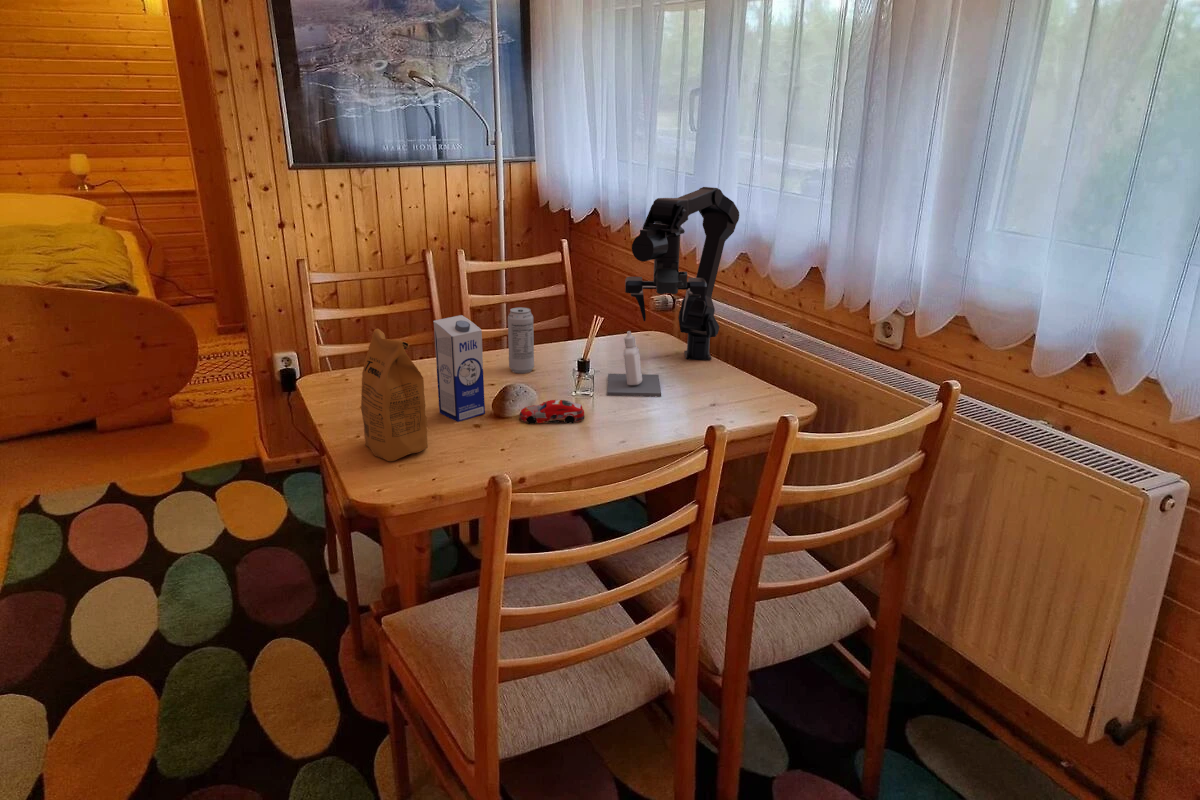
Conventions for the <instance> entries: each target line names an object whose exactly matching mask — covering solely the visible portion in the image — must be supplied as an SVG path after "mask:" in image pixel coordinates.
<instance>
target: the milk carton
mask: <svg viewBox="0 0 1200 800" xmlns="http://www.w3.org/2000/svg"><path fill="white" fill-rule="evenodd" d="M433 329H434V330H433V333H434V334H433V335H434V348H435V361H436V362H435V363H436V365H435V366H436V378H437V379H436V380H437V395H438V411H439V414H441V415H442V416H445V417H446V418H448V417H449V418H448V419H450V420H453V421H455V422H457V423H459V422H463V421H466V420H470V419H472V418H475V417H479V416H482V415H486V411H485V410H486V405H485V404H486V403H485V384H484V381H485V380H484V359H483V355H484V354H483V335H482V331H483V330H482V329H481V328H480V327H479V326H477V324H475V323H474V322H473V321H471V320H470V319H469V318H467V317H465V316H464V315H462V314H459V315H455V316H451V317H446V318H441V319H440V318H439V319H435V320H433Z"/></svg>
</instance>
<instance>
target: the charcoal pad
mask: <svg viewBox="0 0 1200 800" xmlns="http://www.w3.org/2000/svg"><path fill="white" fill-rule="evenodd" d="M606 390H607V394H606V395H607V396H611V397H612V396H613V397H614V396H615V397H624V396H625V397H649V396H651V398H652V397H653V398H654V397H655V396H657V397H659V398H661V397H662V387H661V382H660V376H659V374H657V373H656V374H650V373H649V374H647V373H646V374H645V373H642V382H641V383H640V384H638V385H628V384H627V379H626V373H607V389H606ZM657 397H655V398H657Z"/></svg>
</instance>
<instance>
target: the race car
mask: <svg viewBox="0 0 1200 800" xmlns="http://www.w3.org/2000/svg"><path fill="white" fill-rule="evenodd" d="M519 418H520V420H521V421H522V422H523V423H527V424H528V425H535V424H563V423H566V424H574V423H578V422H582V421H583V420H584V419H585V410H584V409H583V405H582V404H580V403H578V402H573V401H571V400H565V399H551V400H547V401H543V402H542V403H540V404H536V405H535V404H534V405H528V406H525V407H523V408H522V409H521V410H520V413H519Z"/></svg>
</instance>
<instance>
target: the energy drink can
mask: <svg viewBox="0 0 1200 800" xmlns="http://www.w3.org/2000/svg"><path fill="white" fill-rule="evenodd" d="M531 310H532V309H531V308H529V307H521V306H519V307H513V308H510V309H509V311H510V312H509V313H508V316H507V339H508V341H507V342H508V367H509V369H510V370H511V372H513V373H515V374H528V373H531V372H532V371H533V369H534V367H535V347H534V344H535V343H534V340H535V336H534V315H533V314H532V311H531Z"/></svg>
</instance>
